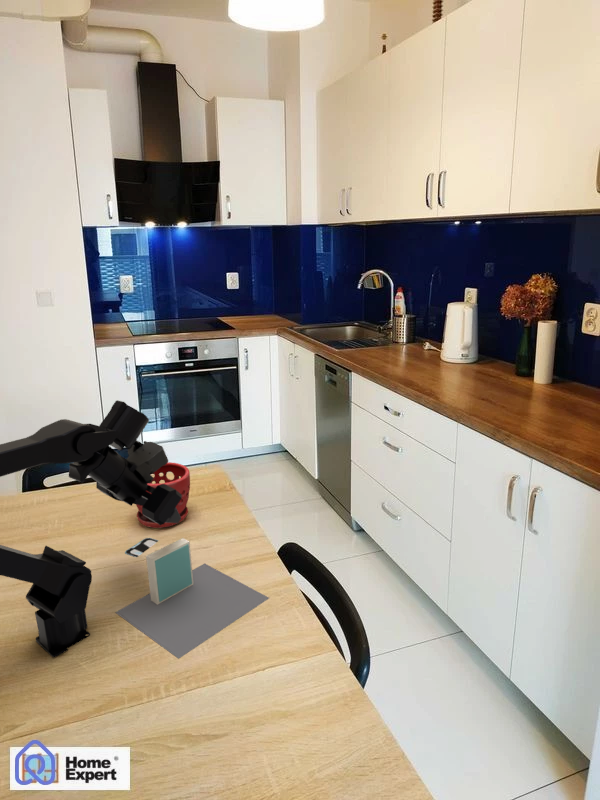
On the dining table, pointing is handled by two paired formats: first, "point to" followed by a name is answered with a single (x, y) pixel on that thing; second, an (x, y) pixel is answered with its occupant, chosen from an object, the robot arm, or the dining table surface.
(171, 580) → the tile
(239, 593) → the mat
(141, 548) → the smartphone
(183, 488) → the plant pot
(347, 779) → the dining table surface
